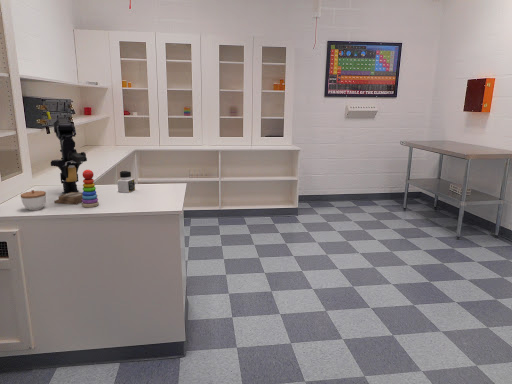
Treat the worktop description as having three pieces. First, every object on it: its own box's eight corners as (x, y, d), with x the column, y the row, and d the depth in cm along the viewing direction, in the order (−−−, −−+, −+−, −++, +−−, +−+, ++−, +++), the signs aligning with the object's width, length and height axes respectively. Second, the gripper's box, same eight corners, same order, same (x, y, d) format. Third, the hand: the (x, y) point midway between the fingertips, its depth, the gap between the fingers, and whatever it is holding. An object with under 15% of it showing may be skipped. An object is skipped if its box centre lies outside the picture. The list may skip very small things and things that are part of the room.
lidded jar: (48, 209, 185) (46, 191, 183) (23, 212, 179) (20, 193, 177) (46, 204, 194) (44, 186, 191) (22, 207, 188) (19, 189, 186)
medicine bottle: (129, 192, 218) (127, 172, 215) (118, 192, 219) (116, 172, 216) (135, 189, 225) (133, 170, 222) (124, 189, 226) (122, 169, 223)
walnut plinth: (54, 203, 196) (53, 196, 195) (70, 196, 208) (70, 191, 208) (76, 204, 194) (76, 198, 193) (91, 198, 206) (91, 192, 205)
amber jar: (69, 182, 195) (68, 167, 193) (64, 181, 198) (62, 166, 196) (79, 180, 199) (77, 165, 197) (73, 179, 202) (72, 164, 200)
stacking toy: (81, 208, 187) (77, 171, 182) (82, 204, 194) (78, 168, 189) (99, 206, 190) (95, 170, 185) (98, 202, 197) (95, 167, 192)
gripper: (65, 150, 183) (68, 181, 187) (93, 146, 200) (96, 174, 204) (47, 149, 187) (52, 180, 191) (77, 145, 204) (80, 173, 208)
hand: (71, 177), depth 198 cm, fingers closed on amber jar, 5 cm apart
